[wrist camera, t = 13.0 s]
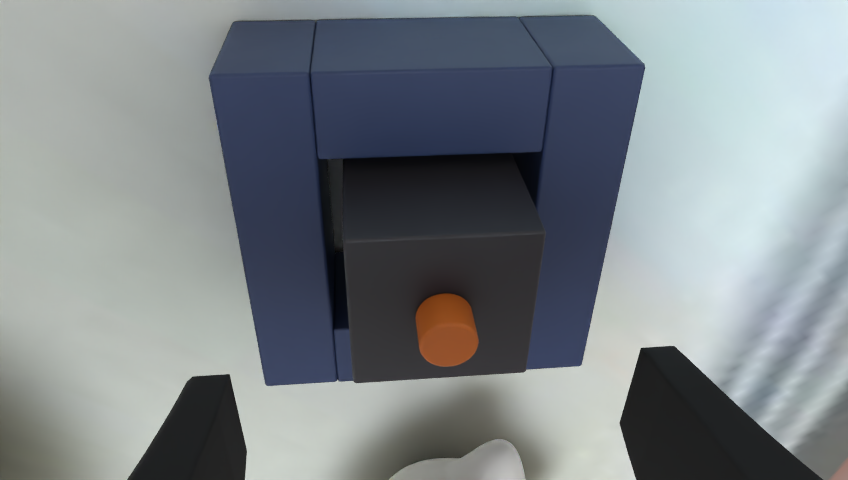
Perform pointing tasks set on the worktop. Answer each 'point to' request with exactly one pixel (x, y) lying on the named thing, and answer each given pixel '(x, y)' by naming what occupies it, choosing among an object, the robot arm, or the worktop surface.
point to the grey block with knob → (439, 266)
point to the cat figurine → (470, 465)
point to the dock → (416, 136)
